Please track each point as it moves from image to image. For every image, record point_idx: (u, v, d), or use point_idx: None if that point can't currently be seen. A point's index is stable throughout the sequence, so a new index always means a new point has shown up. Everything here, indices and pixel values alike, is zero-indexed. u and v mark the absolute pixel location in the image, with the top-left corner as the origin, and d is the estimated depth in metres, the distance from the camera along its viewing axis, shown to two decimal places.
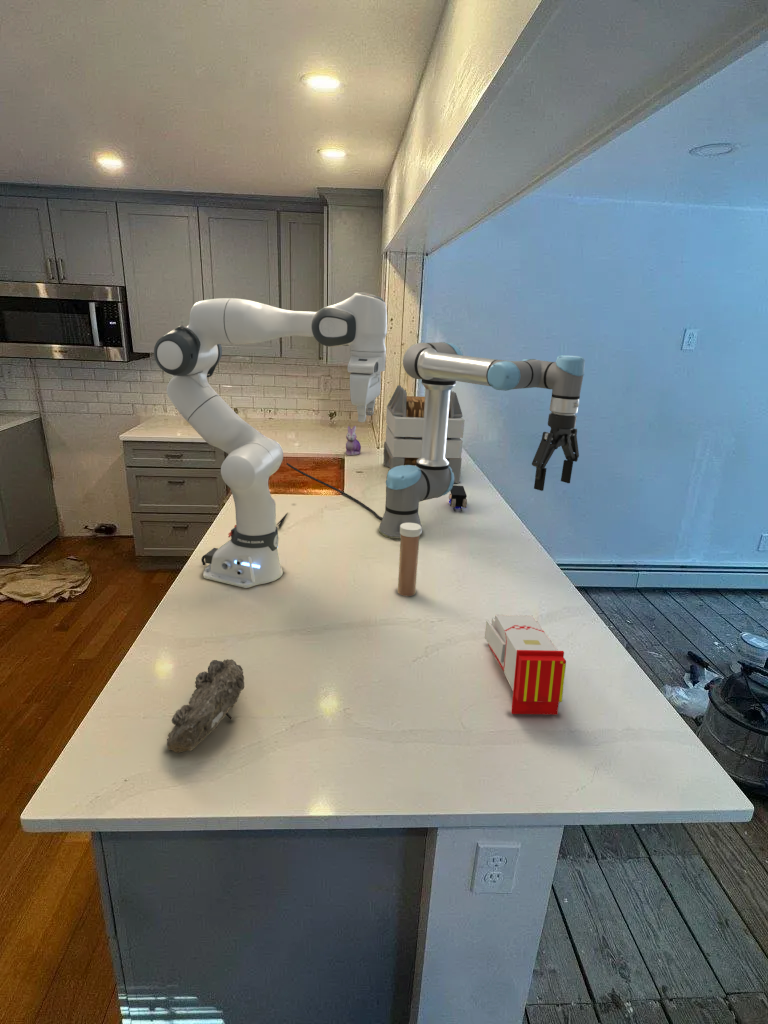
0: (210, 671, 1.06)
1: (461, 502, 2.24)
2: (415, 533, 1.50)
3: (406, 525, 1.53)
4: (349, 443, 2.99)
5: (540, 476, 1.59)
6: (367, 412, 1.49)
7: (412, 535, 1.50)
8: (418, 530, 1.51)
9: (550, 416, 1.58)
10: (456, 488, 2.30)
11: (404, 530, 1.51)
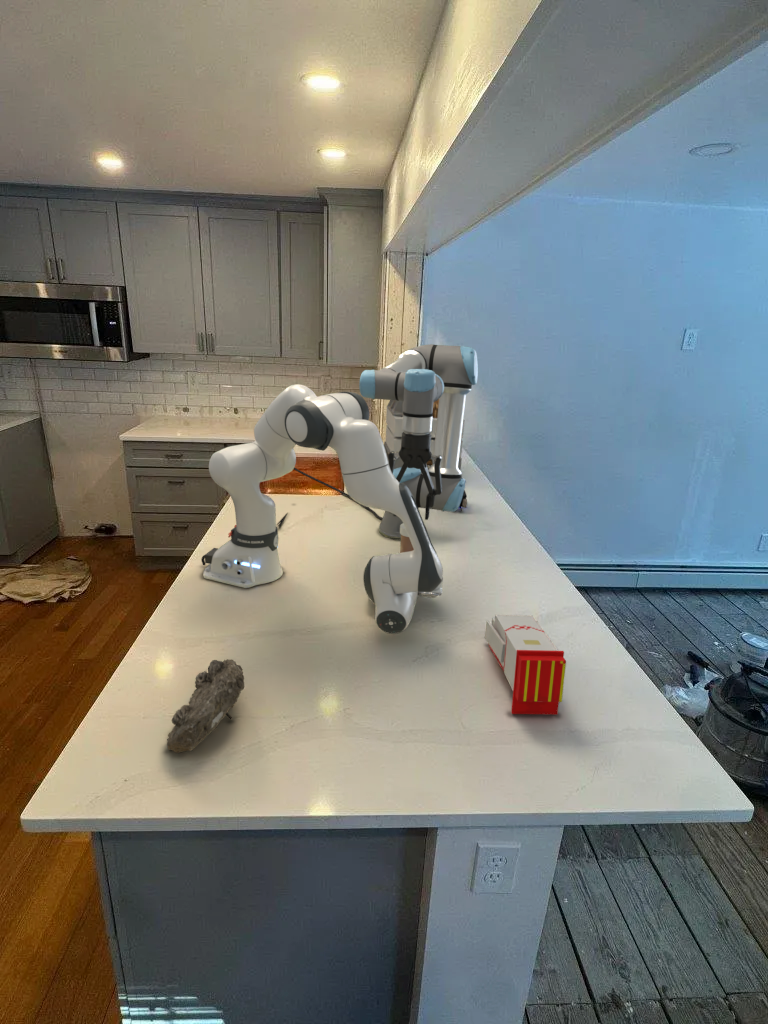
0: (210, 671, 1.06)
1: (461, 502, 2.24)
2: None
3: None
4: None
5: None
6: None
7: None
8: None
9: (428, 438, 1.42)
10: None
11: (404, 530, 1.51)
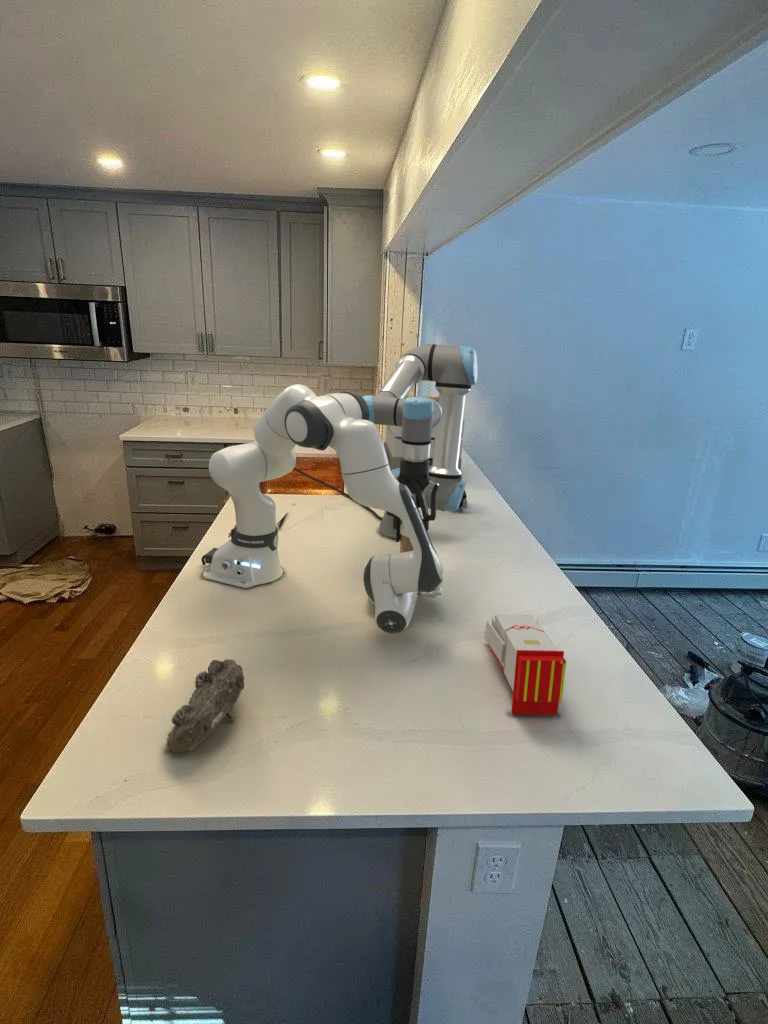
0: (210, 671, 1.06)
1: (461, 502, 2.24)
2: None
3: None
4: None
5: None
6: None
7: None
8: None
9: (426, 465, 1.44)
10: None
11: (404, 530, 1.51)
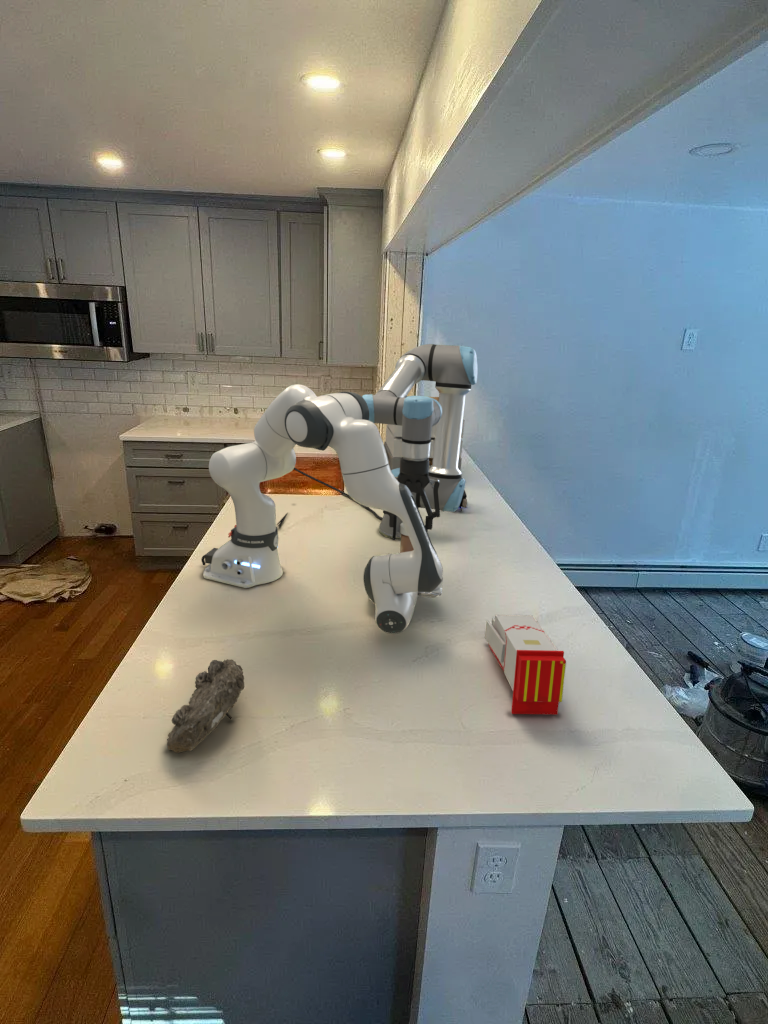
0: (210, 671, 1.06)
1: (461, 502, 2.24)
2: None
3: None
4: None
5: None
6: None
7: None
8: None
9: (427, 463, 1.45)
10: None
11: None
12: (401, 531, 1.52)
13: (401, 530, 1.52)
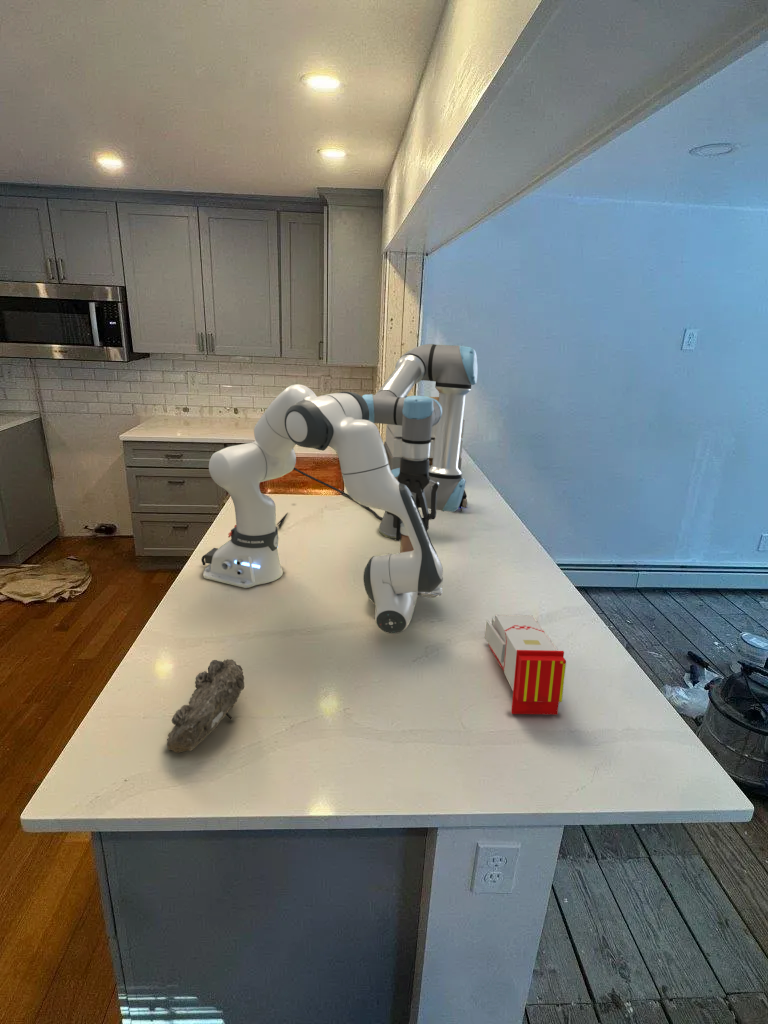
0: (210, 671, 1.06)
1: (461, 502, 2.24)
2: None
3: None
4: None
5: None
6: None
7: None
8: None
9: (426, 463, 1.44)
10: None
11: None
12: (401, 531, 1.52)
13: (401, 530, 1.52)
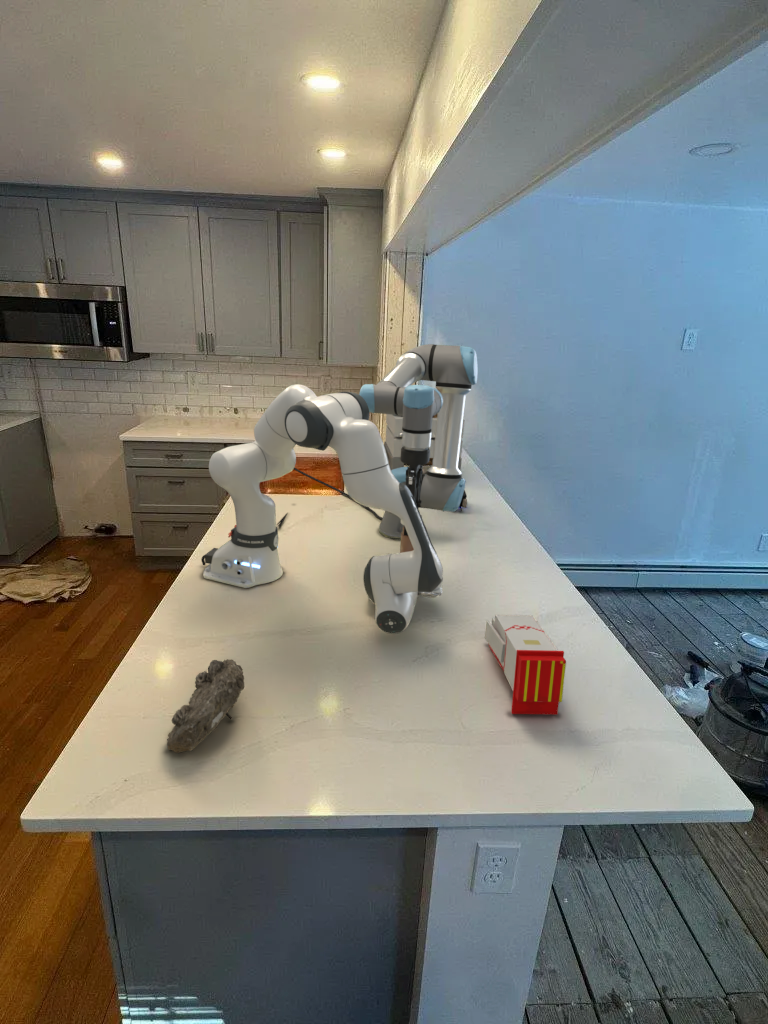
0: (210, 671, 1.06)
1: (461, 502, 2.24)
2: None
3: None
4: None
5: None
6: None
7: None
8: None
9: None
10: None
11: None
12: None
13: None
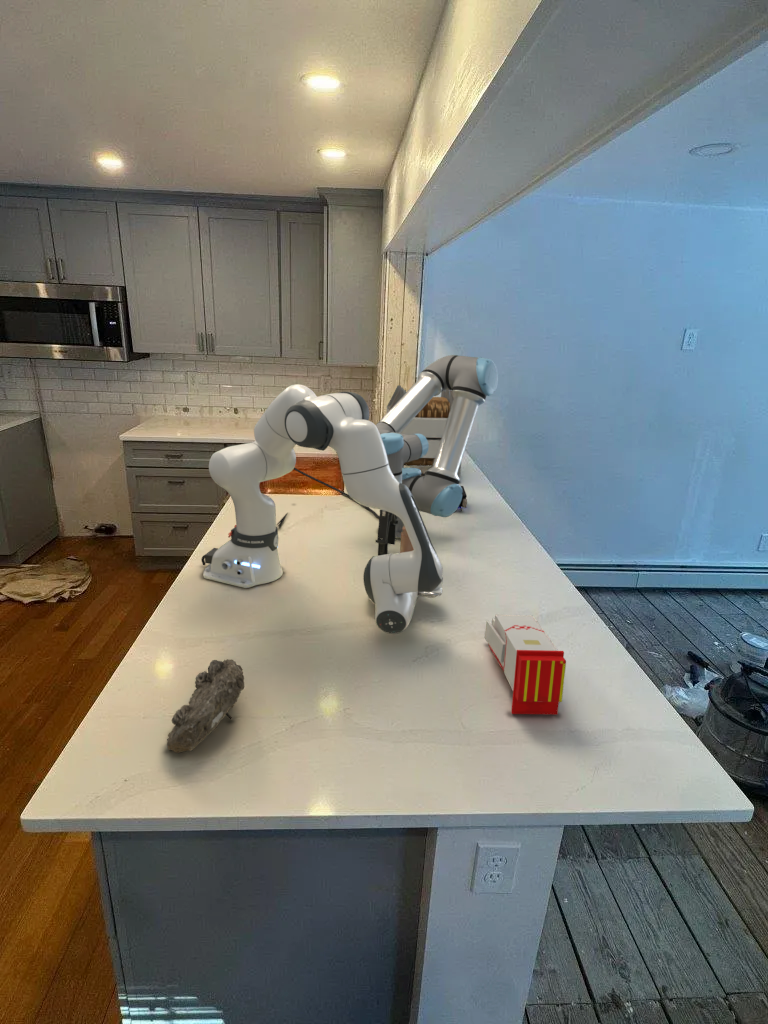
0: (210, 671, 1.06)
1: (461, 502, 2.24)
2: None
3: None
4: None
5: None
6: None
7: None
8: None
9: None
10: None
11: None
12: None
13: None
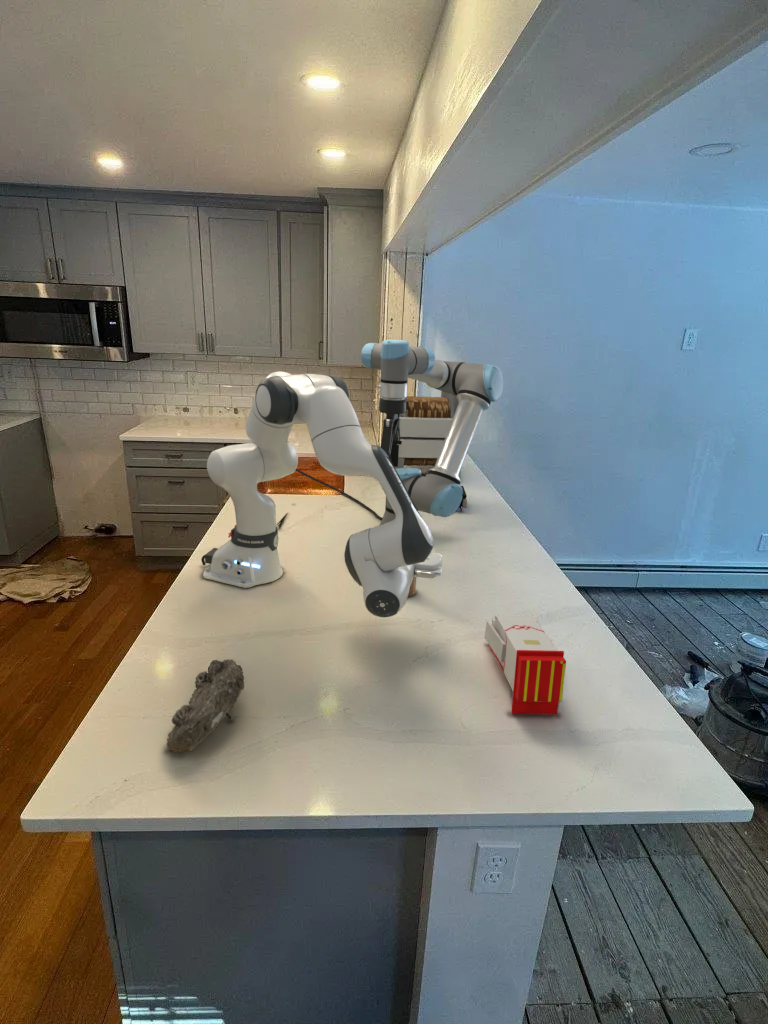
0: (210, 671, 1.06)
1: (461, 502, 2.24)
2: None
3: None
4: None
5: None
6: None
7: None
8: None
9: None
10: None
11: None
12: None
13: None
